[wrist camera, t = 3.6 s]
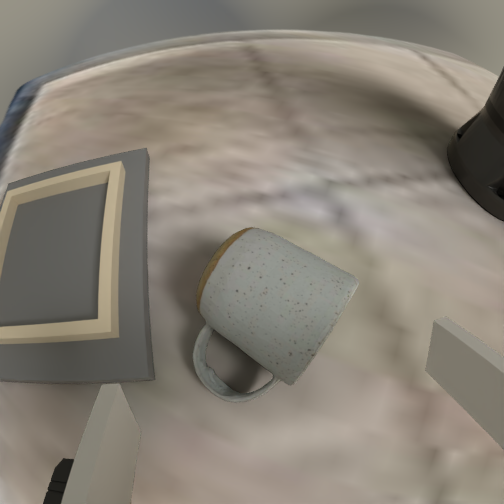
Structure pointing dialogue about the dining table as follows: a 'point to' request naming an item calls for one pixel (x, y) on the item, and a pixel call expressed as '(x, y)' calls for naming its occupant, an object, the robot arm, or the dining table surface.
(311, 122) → the dining table surface
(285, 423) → the dining table surface
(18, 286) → the charcoal pocket board
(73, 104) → the dining table surface
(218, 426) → the dining table surface
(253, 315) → the ceramic mug
